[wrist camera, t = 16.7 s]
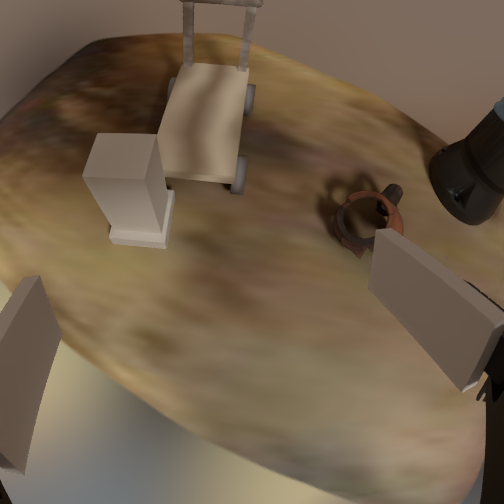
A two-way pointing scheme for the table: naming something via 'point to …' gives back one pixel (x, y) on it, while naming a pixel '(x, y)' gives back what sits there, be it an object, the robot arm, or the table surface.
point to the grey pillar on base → (131, 188)
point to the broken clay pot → (384, 206)
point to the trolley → (208, 110)
